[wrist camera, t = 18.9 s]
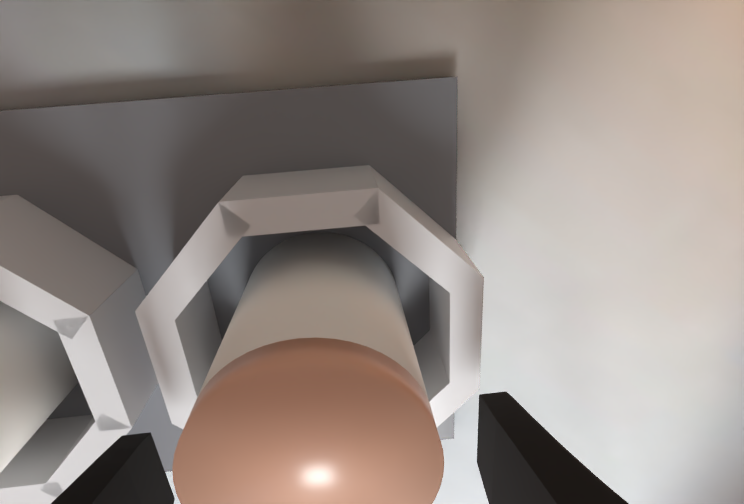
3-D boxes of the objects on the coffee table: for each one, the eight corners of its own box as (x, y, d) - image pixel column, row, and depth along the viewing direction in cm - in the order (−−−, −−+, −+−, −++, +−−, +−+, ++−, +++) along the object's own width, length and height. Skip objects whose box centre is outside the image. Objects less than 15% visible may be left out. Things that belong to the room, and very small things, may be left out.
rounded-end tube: (259, 372, 13) (205, 578, 8) (232, 240, 12) (138, 384, 6) (400, 357, 14) (444, 549, 8) (394, 225, 12) (443, 353, 6)
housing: (-28, 482, 15) (-111, 575, 12) (-244, 128, 10) (-460, 148, 7) (450, 427, 16) (475, 502, 13) (452, 76, 11) (491, 76, 8)
